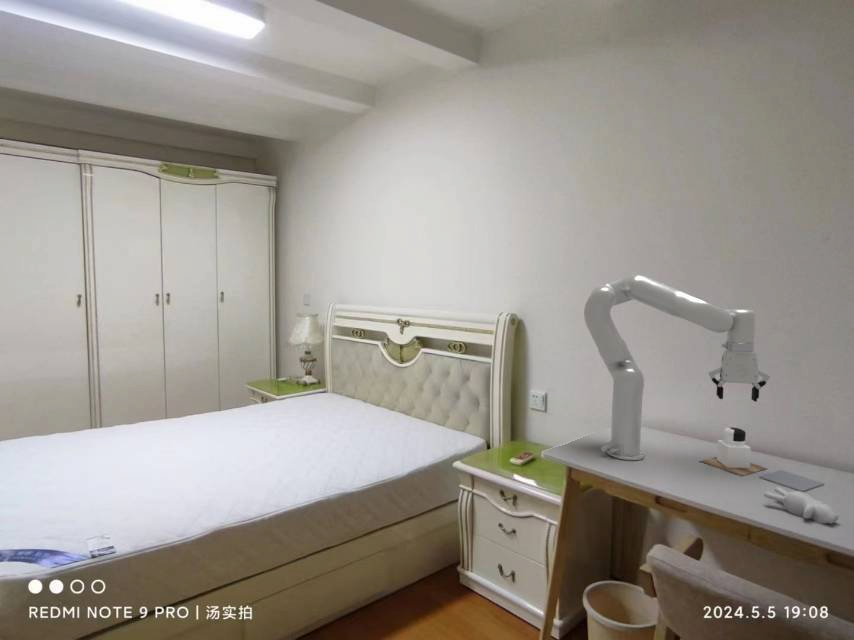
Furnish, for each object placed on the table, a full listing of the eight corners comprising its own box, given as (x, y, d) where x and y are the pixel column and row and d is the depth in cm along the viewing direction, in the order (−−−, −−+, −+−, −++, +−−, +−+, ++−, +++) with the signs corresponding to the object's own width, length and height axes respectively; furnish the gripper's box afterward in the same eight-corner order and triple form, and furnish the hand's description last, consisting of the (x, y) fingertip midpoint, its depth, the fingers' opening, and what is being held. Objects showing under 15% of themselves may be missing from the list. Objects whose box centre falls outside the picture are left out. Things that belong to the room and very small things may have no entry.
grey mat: (802, 492, 145) (802, 490, 145) (759, 477, 156) (759, 476, 156) (824, 484, 151) (824, 483, 151) (780, 471, 161) (781, 469, 161)
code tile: (741, 476, 157) (741, 475, 157) (699, 461, 169) (699, 461, 169) (767, 468, 163) (767, 468, 163) (725, 455, 176) (725, 454, 176)
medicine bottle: (738, 461, 169) (740, 426, 168) (750, 469, 162) (752, 432, 161) (716, 460, 170) (718, 425, 169) (726, 468, 163) (728, 431, 162)
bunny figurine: (828, 514, 123) (762, 485, 136) (823, 533, 124) (759, 503, 136) (845, 506, 128) (780, 479, 140) (841, 524, 129) (777, 495, 141)
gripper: (712, 347, 162) (710, 400, 163) (775, 350, 157) (771, 404, 158) (707, 344, 169) (704, 395, 171) (766, 347, 164) (763, 398, 165)
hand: (737, 399), depth 164 cm, fingers open, 9 cm apart
